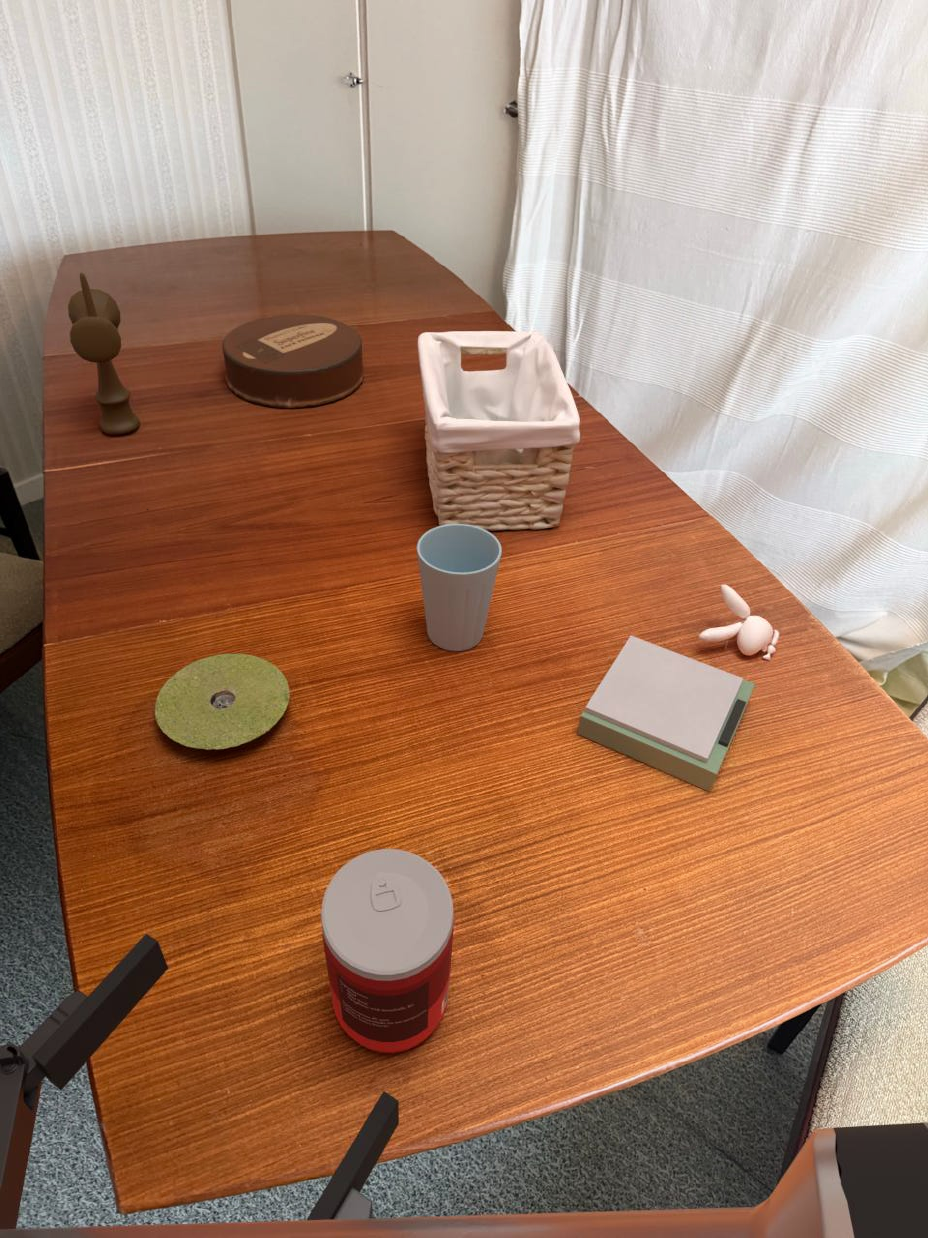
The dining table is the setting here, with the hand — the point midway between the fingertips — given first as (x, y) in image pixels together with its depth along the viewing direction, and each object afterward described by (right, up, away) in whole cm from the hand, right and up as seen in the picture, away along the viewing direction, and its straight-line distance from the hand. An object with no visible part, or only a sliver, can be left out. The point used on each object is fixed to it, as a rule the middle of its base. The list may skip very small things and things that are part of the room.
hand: (268, 1023), depth 38 cm
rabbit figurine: (+35, +16, +44) cm, 59 cm away
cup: (+8, +17, +44) cm, 48 cm away
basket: (+12, +35, +65) cm, 75 cm away
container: (-16, +54, +85) cm, 102 cm away
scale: (+27, +10, +36) cm, 46 cm away
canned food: (+4, -6, +17) cm, 18 cm away
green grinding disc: (-12, +10, +35) cm, 38 cm away
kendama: (-36, +44, +71) cm, 91 cm away
